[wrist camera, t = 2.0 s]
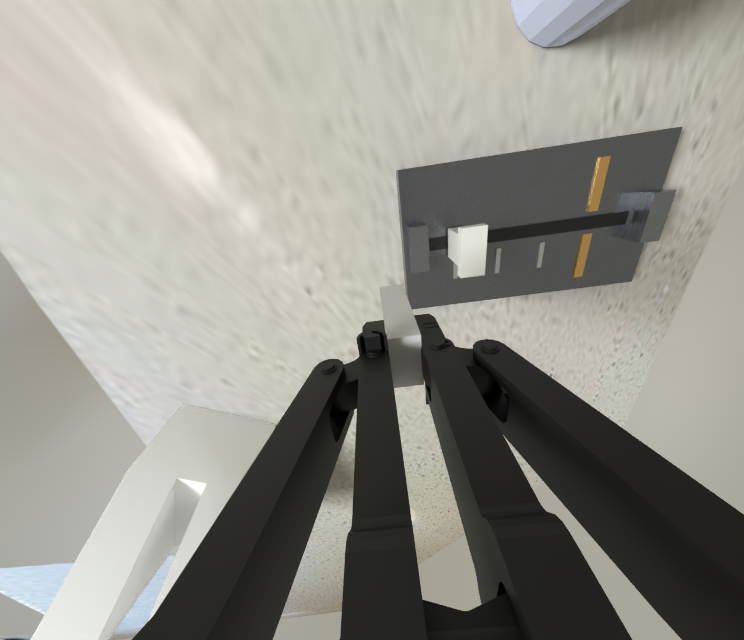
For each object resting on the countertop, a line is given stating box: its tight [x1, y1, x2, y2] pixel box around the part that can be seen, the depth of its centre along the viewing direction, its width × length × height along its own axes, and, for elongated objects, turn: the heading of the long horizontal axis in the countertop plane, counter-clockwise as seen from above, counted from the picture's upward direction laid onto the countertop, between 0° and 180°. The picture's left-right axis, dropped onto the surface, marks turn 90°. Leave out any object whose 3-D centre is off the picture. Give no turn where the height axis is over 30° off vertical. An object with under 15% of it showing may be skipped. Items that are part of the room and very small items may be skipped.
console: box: [396, 127, 682, 309], centre depth 30 cm, size 16×28×4 cm, turn 98°
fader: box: [448, 223, 488, 278], centre depth 28 cm, size 5×2×5 cm, turn 8°
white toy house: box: [31, 403, 276, 640], centre depth 38 cm, size 19×15×25 cm
